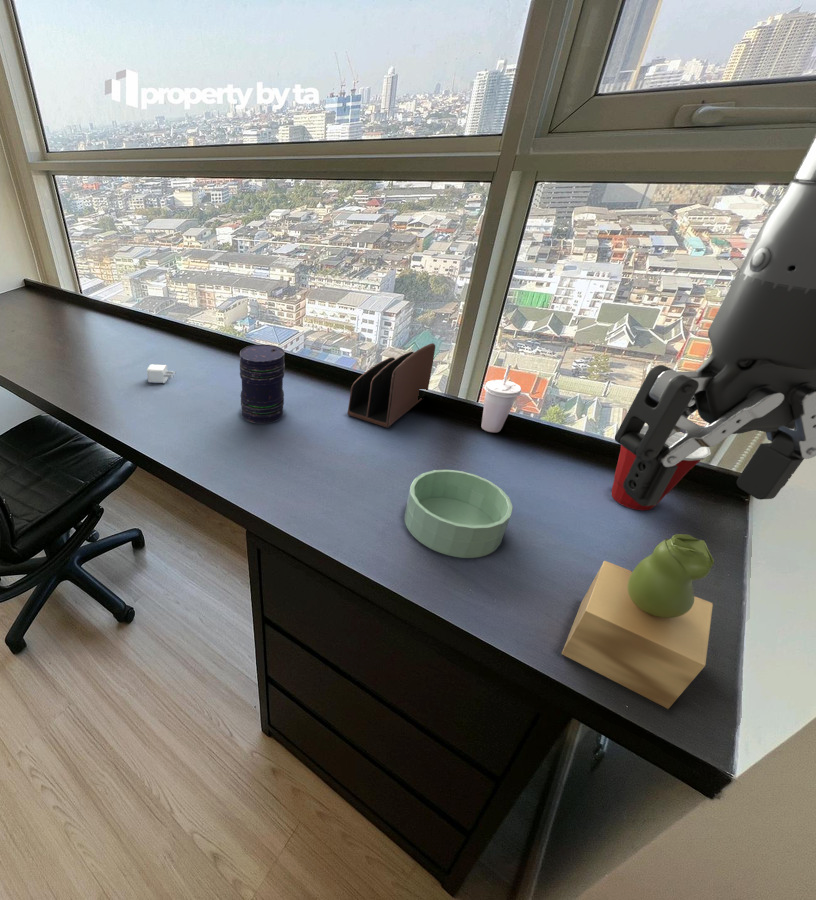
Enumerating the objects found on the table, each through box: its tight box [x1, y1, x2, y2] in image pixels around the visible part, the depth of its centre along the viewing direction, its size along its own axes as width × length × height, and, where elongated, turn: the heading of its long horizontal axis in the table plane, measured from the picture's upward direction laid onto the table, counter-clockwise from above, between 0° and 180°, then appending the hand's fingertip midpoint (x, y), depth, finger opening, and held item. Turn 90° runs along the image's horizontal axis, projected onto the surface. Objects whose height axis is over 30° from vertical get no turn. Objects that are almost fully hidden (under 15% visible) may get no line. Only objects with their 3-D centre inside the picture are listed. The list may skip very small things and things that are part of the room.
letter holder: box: [347, 343, 436, 429], centre depth 108 cm, size 10×20×14 cm, turn 137°
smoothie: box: [480, 363, 522, 433], centre depth 97 cm, size 6×6×14 cm
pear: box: [628, 533, 715, 618], centre depth 50 cm, size 6×5×10 cm
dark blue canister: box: [239, 343, 286, 425], centre depth 108 cm, size 10×10×15 cm
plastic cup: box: [611, 424, 712, 511], centre depth 77 cm, size 11×11×12 cm
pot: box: [404, 469, 514, 559], centre depth 75 cm, size 14×14×6 cm
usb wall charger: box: [146, 364, 177, 384], centre depth 129 cm, size 4×7×4 cm, turn 79°
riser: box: [561, 560, 714, 710], centre depth 55 cm, size 10×10×8 cm
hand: (695, 496), depth 36 cm, fingers open, 8 cm apart
